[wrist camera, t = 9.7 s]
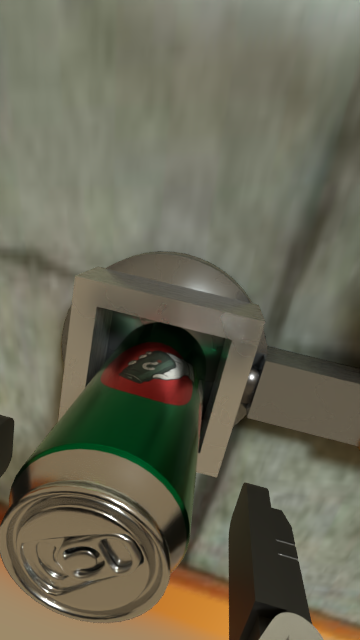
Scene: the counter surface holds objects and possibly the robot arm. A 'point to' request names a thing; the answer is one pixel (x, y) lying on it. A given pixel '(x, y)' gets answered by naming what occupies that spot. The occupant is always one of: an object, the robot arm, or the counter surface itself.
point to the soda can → (112, 484)
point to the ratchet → (207, 350)
